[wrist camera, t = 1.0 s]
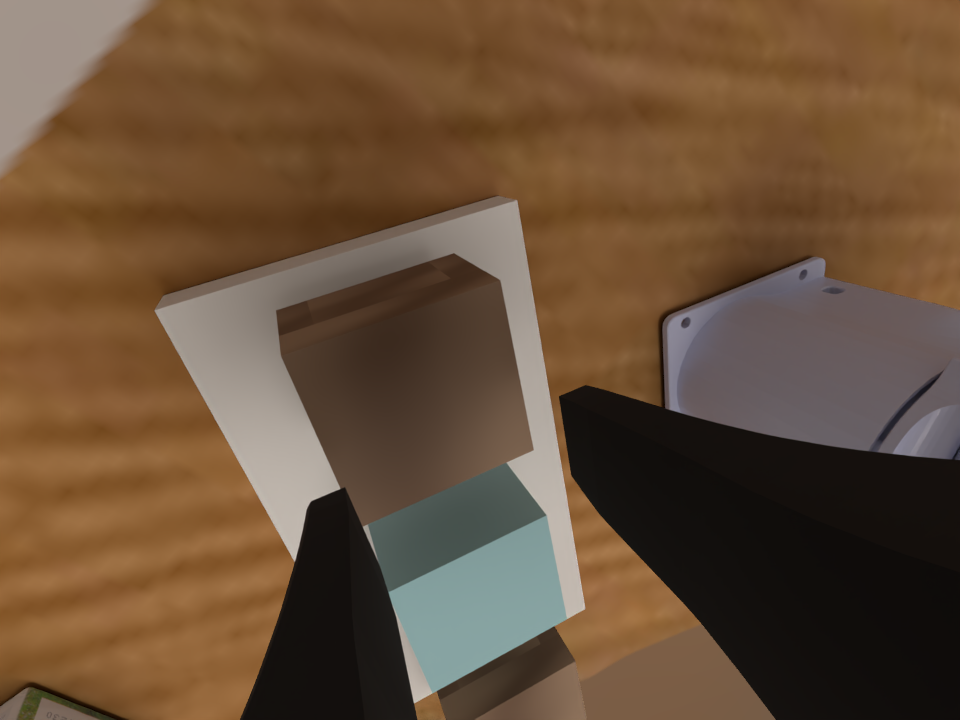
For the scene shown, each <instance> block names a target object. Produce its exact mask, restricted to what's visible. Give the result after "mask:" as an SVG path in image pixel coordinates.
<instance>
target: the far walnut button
mask: <svg viewBox="0 0 960 720" xmlns="http://www.w3.org/2000/svg"><path fill="white" fill-rule="evenodd" d="M437 693H438V696H439V699H440V703H441V706H442V709H443V712H444V715H445V718H446V720H587V718H586V713H585V708H584V703H583V697H582V692H581V688H580V682H579V677H578V672H577V667H576V662H575V660H574V658H573V656H572V655H571V653H570V652H569V650H568V648H567V647H566V645H565V643H564V642H563V640H562V638H561V637H560V635H559V633H558V632H557V630H556V629H555V627H552V628H550V629H548V630H546V631H545V632H543V633H541V634H539V635H537V636H536V637H534V638H532V639H530V640H528V641H527V642H525V643H523V644H521V645H519V646H517V647H516V648H514V649H512V650H510V651H508V652H507V653H505V654H503V655H501V656H499V657H498V658H496V659H494V660H492V661H490V662H488V663H487V664H485V665H483V666H481V667H479V668H478V669H476V670H474V671H472V672H470V673H469V674H467V675H465V676H463V677H461V678H459V679H458V680H456V681H454V682H452V683H450V684H449V685H447V686H445V687H443V688H441V689H440V690H438V691H437Z"/></svg>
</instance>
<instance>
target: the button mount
mask: <svg viewBox="0 0 960 720" xmlns="http://www.w3.org/2000/svg"><path fill="white" fill-rule="evenodd" d="M453 253H454V254H456V255H458V256H460V257H461V258H463V259H465V260H467V261H468V262H470V263H472V264H473V265H475V266H477V267H479V268H480V269H482V270H484V271H486V272H487V273H489V274H491V275H492V276H494V277H496V278H498V279H499V280H500V281H501V286H502V291H503V296H504V301H505V306H506V311H507V316H508V321H509V326H510V331H511V336H512V342H513V347H514V352H515V357H516V362H517V367H518V372H519V377H520V382H521V387H522V392H523V397H524V403H525V408H526V413H527V418H528V423H529V428H530V433H531V438H532V443H533V448H534V450H533V451H531V452H529V453H526V454H524V455H522V456H520V457H518V458H515V459H513V460H511V461H509V462H506V463H507V464H508V466H509V467H510V468H511V470H512V471H513V472H514V473H515V475H516V476H517V477H518V479H519V480H520V481H521V483H522V484H523V485H524V486H525V488H526V489H527V490H528V492H529V493H530V494H531V496H532V497H533V498H534V499H535V501H536V502H537V503H538V505H539V506H540V507H541V509H542V510H543V511H544V512H545V514H546V515H547V519H548V525H549V530H550V535H551V540H552V545H553V550H554V555H555V560H556V565H557V570H558V575H559V580H560V586H561V591H562V596H563V601H564V606H565V611H566V616H567V619H568V618H570V617H572V616H573V615H575V614H577V613H579V612H581V611H582V610H584V609H585V604H584V598H583V592H582V586H581V580H580V574H579V568H578V562H577V556H576V550H575V544H574V538H573V532H572V526H571V520H570V514H569V508H568V502H567V496H566V490H565V484H564V478H563V472H562V466H561V460H560V454H559V448H558V442H557V436H556V430H555V424H554V418H553V412H552V406H551V400H550V394H549V388H548V382H547V376H546V370H545V364H544V358H543V352H542V346H541V340H540V334H539V328H538V322H537V316H536V310H535V304H534V298H533V292H532V286H531V280H530V274H529V268H528V262H527V256H526V250H525V244H524V238H523V232H522V226H521V220H520V214H519V208H518V202H517V200H514V199H510V198H506V197H502V196H496V197H492V198H489V199H486V200H482V201H479V202H476V203H472V204H469V205H466V206H462V207H459V208H455V209H452V210H449V211H445V212H442V213H439V214H435V215H432V216H429V217H425V218H422V219H419V220H415V221H412V222H408V223H405V224H402V225H398V226H395V227H392V228H388V229H385V230H382V231H378V232H375V233H372V234H368V235H365V236H362V237H358V238H355V239H351V240H348V241H345V242H341V243H338V244H335V245H331V246H328V247H325V248H321V249H318V250H315V251H311V252H308V253H305V254H301V255H298V256H294V257H291V258H288V259H284V260H281V261H278V262H274V263H271V264H268V265H264V266H261V267H258V268H254V269H251V270H247V271H244V272H241V273H237V274H234V275H231V276H227V277H224V278H221V279H217V280H214V281H211V282H207V283H204V284H201V285H197V286H194V287H190V288H187V289H184V290H180V291H177V292H174V293H170V294H167V295H164V296H163V297H162V299H161V300H160V302H159V304H158V305H157V307H156V308H155V310H154V311H155V312H156V314H157V316H158V318H159V320H160V321H161V323H162V325H163V327H164V328H165V330H166V332H167V334H168V336H169V337H170V339H171V341H172V343H173V345H174V346H175V348H176V350H177V352H178V354H179V355H180V357H181V359H182V361H183V363H184V364H185V366H186V368H187V370H188V371H189V373H190V375H191V377H192V379H193V380H194V382H195V384H196V386H197V388H198V389H199V391H200V393H201V395H202V397H203V398H204V400H205V402H206V404H207V405H208V407H209V409H210V411H211V413H212V414H213V416H214V418H215V420H216V422H217V423H218V425H219V427H220V429H221V431H222V432H223V434H224V436H225V438H226V440H227V441H228V443H229V445H230V447H231V448H232V450H233V452H234V454H235V456H236V457H237V459H238V461H239V463H240V465H241V466H242V468H243V470H244V472H245V474H246V475H247V477H248V479H249V481H250V482H251V484H252V486H253V488H254V490H255V491H256V493H257V495H258V497H259V499H260V500H261V502H262V504H263V506H264V508H265V509H266V511H267V513H268V515H269V517H270V518H271V520H272V522H273V524H274V525H275V527H276V529H277V531H278V533H279V534H280V536H281V538H282V540H283V542H284V543H285V545H286V547H287V549H288V551H289V552H290V554H291V556H292V558H293V559H294V561H295V560H296V556H297V552H298V548H299V544H300V540H301V535H302V531H303V526H304V521H305V516H306V510H307V508H308V506H309V504H310V502H311V501H313V500H315V499H318V498H320V497H322V496H325V495H327V494H329V493H332V492H334V491H336V490H339V489H340V486H339V484H338V482H337V480H336V478H335V475H334V473H333V471H332V469H331V466H330V464H329V462H328V460H327V458H326V455H325V453H324V451H323V449H322V446H321V444H320V442H319V440H318V438H317V435H316V433H315V431H314V429H313V426H312V424H311V422H310V420H309V417H308V415H307V413H306V411H305V409H304V406H303V404H302V402H301V400H300V397H299V395H298V393H297V391H296V389H295V386H294V384H293V382H292V380H291V377H290V375H289V373H288V371H287V369H286V366H285V364H284V362H283V360H282V357H281V353H280V344H279V334H278V325H277V315H276V310H279V309H282V308H285V307H288V306H291V305H295V304H298V303H301V302H304V301H307V300H310V299H313V298H316V297H319V296H322V295H326V294H329V293H332V292H335V291H338V290H341V289H344V288H347V287H350V286H354V285H357V284H360V283H363V282H366V281H369V280H372V279H375V278H378V277H381V276H385V275H388V274H391V273H394V272H397V271H400V270H403V269H406V268H409V267H413V266H416V265H419V264H422V263H425V262H428V261H431V260H434V259H437V258H441V257H444V256H447V255H450V254H453ZM363 529H364V531H365V533H366V535H367V538H368V540H369V542H370V544H371V547H372V549H373V551H374V554H375V556H376V558H377V555H376V551H375V548H374V544H373V541H372V537H371V534H370V530H369V527H368V525H365V526H363ZM377 560H378V558H377ZM378 563H379V562H378ZM392 605H393V604H392ZM393 608H394V607H393ZM394 612H395V615H396V618H397V623H398V628H399V633H400V638H401V642H402V647H403V652H404V657H405V662H406V667H407V672H408V677H409V682H410V686H411V691H412V696H413V701H414V703H416V702H418V701H419V700H421V699H423V698H425V697H427V696H428V695H430V694H432V691H431V689H430V687H429V684H428V682H427V680H426V678H425V676H424V673H423V671H422V669H421V667H420V664H419V662H418V660H417V658H416V656H415V653H414V651H413V649H412V647H411V644H410V642H409V640H408V638H407V636H406V633H405V631H404V629H403V627H402V624H401V622H400V620H399V618H398V615H397V613H396V611H395V609H394Z"/></svg>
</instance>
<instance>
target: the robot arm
mask: <svg viewBox="0 0 960 720" xmlns="http://www.w3.org/2000/svg"><path fill="white" fill-rule="evenodd" d="M824 273H825V260H824V259H823V258H820V257H812V258H809V259H807V260H805V261H802V262H800V263H797V264H795V265H792V266H790V267H787V268H785V269H782V270H780V271H777V272H775V273H772V274H770V275H767V276H765V277H762V278H760V279H757V280H755V281H752V282H750V283H747V284H745V285H742V286H740V287H737V288H735V289H732V290H730V291H727V292H725V293H722V294H720V295H717V296H715V297H712V298H710V299H707V300H705V301H702V302H700V303H697V304H695V305H692V306H690V307H687V308H685V309H682V310H680V311H677V312H675V313H672V314H670V315H669V316H667V318H666V319H665V320H664V322H663V327H662V332H663V359H664V386H665V408H662V407H659V406H655V405H652V404H649V403H646V402H642V401H639V400H636V399H633V398H629V397H626V396H623V395H619V394H616V393H613V392H609V391H606V390H602V389H599V388H595V387H591V386H587V385H585V386H582V387H580V388H578V389H575V390H573V391H571V392H568V393H566V394H564V395H561V396H559V400H560V406H561V412H562V419H563V425H564V431H565V438H566V444H567V451H568V457H569V463H570V470H571V475H572V477H573V478H574V480H575V481H576V483H577V484H578V485H579V487H580V488H581V490H582V491H583V492H584V494H585V495H586V497H587V498H588V499H589V501H590V502H591V503H592V505H593V506H594V507H595V509H596V510H597V511H598V513H599V514H600V515H601V516H602V517H603V519H604V520H605V521H606V522H607V523H608V524H609V525H610V526H611V527H612V528H613V529H614V530H615V531H616V533H617V534H618V535H619V536H620V537H621V538H622V539H623V540H624V541H625V542H626V543H627V544H628V545H629V546H630V547H631V548H632V550H633V551H634V552H635V553H636V554H637V555H638V556H639V557H640V558H641V559H642V560H643V561H644V562H645V563H646V564H647V565H648V566H649V567H650V568H651V569H652V570H653V572H654V573H655V574H656V575H657V576H658V577H659V578H660V579H661V580H662V581H663V582H664V583H665V584H666V585H667V586H668V587H669V588H670V589H671V590H672V591H673V593H674V594H675V595H676V596H677V597H678V598H679V599H680V600H681V601H682V602H683V603H684V604H685V605H686V607H687V608H688V609H689V610H690V611H691V612H692V613H693V614H694V616H695V617H696V618H697V619H698V620H699V621H700V622H701V624H702V625H703V626H704V627H705V629H706V630H707V631H708V632H709V634H710V635H711V636H712V637H713V639H714V640H715V641H716V643H717V644H718V645H719V646H720V648H721V649H722V650H723V651H724V653H725V654H726V655H727V656H728V658H729V659H730V660H731V662H732V663H733V664H734V665H735V666H736V668H737V669H738V670H739V671H740V673H741V674H742V676H743V677H744V678H745V679H746V681H747V682H748V683H749V685H750V686H751V687H752V689H753V690H754V691H755V693H756V694H757V695H758V697H759V698H760V699H761V700H762V702H763V703H764V704H765V706H766V707H767V708H768V710H769V711H770V713H771V714H772V715H773V716H774V718H775V719H776V720H960V310H957V309H954V308H950V307H946V306H942V305H938V304H934V303H930V302H926V301H922V300H917V299H913V298H909V297H905V296H901V295H897V294H893V293H889V292H884V291H880V290H876V289H872V288H868V287H864V286H860V285H856V284H852V283H847V282H843V281H839V280H835V279H831V278H827V277H824ZM683 319H684V322H683V323H682V321H683ZM681 323H682V324H681ZM240 720H417V716H416V711H415V706H414V701H413V696H412V691H411V686H410V682H409V677H408V672H407V667H406V662H405V657H404V652H403V647H402V642H401V638H400V633H399V628H398V623H397V618H396V615H395V612H394V608H393V605H392V602H391V599H390V596H389V593H388V589H387V586H386V583H385V580H384V577H383V574H382V571H381V568H380V565H379V563H378V560H377V558H376V556H375V554H374V551H373V549H372V547H371V544H370V542H369V540H368V538H367V535H366V533H365V531H364V529H363V526H362V524H361V522H360V520H359V517H358V515H357V513H356V511H355V508H354V506H353V504H352V502H351V499H350V497H349V495H348V493H347V490H346V488H345V487H344V488H341V489H339V490H336V491H334V492H332V493H329V494H327V495H325V496H322V497H320V498H318V499H315V500H313V501H311V502H310V504H309V506H308V508H307V510H306V516H305V521H304V526H303V531H302V535H301V540H300V544H299V548H298V552H297V556H296V560H295V564H294V568H293V571H292V574H291V578H290V581H289V585H288V588H287V591H286V595H285V598H284V601H283V605H282V608H281V611H280V614H279V618H278V621H277V623H276V626H275V629H274V632H273V635H272V638H271V640H270V643H269V646H268V649H267V652H266V654H265V657H264V660H263V663H262V666H261V668H260V671H259V674H258V676H257V679H256V682H255V684H254V687H253V689H252V692H251V694H250V697H249V699H248V702H247V704H246V707H245V709H244V711H243V714H242V716H241V719H240Z"/></svg>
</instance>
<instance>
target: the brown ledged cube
mask: <svg viewBox="0 0 960 720" xmlns="http://www.w3.org/2000/svg"><path fill="white" fill-rule="evenodd" d="M276 315H277V325H278V334H279V344H280V353H281V357H282V360H283V362H284V364H285V366H286V369H287V371H288V373H289V375H290V377H291V380H292V382H293V384H294V386H295V389H296V391H297V393H298V395H299V397H300V400H301V402H302V404H303V406H304V409H305V411H306V413H307V415H308V417H309V420H310V422H311V424H312V426H313V429H314V431H315V433H316V435H317V438H318V440H319V442H320V444H321V446H322V449H323V451H324V453H325V455H326V458H327V460H328V462H329V464H330V466H331V469H332V471H333V473H334V475H335V478H336V480H337V482H338V484H339V486H340V489H341V488H344V487H345V488H346V490H347V493H348V495H349V497H350V499H351V502H352V504H353V506H354V508H355V511H356V513H357V515H358V517H359V520H360V522H361V524H362V526H365V525H368V524H370V523H372V522H374V521H377V520H379V519H381V518H383V517H386V516H388V515H390V514H392V513H394V512H397V511H399V510H401V509H403V508H406V507H408V506H410V505H412V504H415V503H417V502H419V501H421V500H424V499H426V498H428V497H430V496H432V495H435V494H437V493H439V492H441V491H444V490H446V489H448V488H450V487H453V486H455V485H457V484H459V483H462V482H464V481H466V480H468V479H471V478H473V477H475V476H477V475H479V474H482V473H484V472H486V471H488V470H491V469H493V468H495V467H497V466H500V465H502V464H504V463H506V462H509V461H511V460H513V459H515V458H518V457H520V456H522V455H524V454H526V453H529V452H531V451H533V450H534V448H533V443H532V438H531V433H530V428H529V423H528V418H527V413H526V408H525V403H524V397H523V392H522V387H521V382H520V377H519V372H518V367H517V362H516V357H515V352H514V347H513V342H512V336H511V331H510V326H509V321H508V316H507V311H506V306H505V301H504V296H503V291H502V286H501V281H500V280H499V279H498V278H496V277H494V276H492V275H491V274H489V273H487V272H486V271H484V270H482V269H480V268H479V267H477V266H475V265H473V264H472V263H470V262H468V261H467V260H465V259H463V258H461V257H460V256H458V255H456V254H454V253H453V254H450V255H447V256H444V257H441V258H437V259H434V260H431V261H428V262H425V263H422V264H419V265H416V266H413V267H409V268H406V269H403V270H400V271H397V272H394V273H391V274H388V275H385V276H381V277H378V278H375V279H372V280H369V281H366V282H363V283H360V284H357V285H354V286H350V287H347V288H344V289H341V290H338V291H335V292H332V293H329V294H326V295H322V296H319V297H316V298H313V299H310V300H307V301H304V302H301V303H298V304H295V305H291V306H288V307H285V308H282V309H279V310H276Z"/></svg>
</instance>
